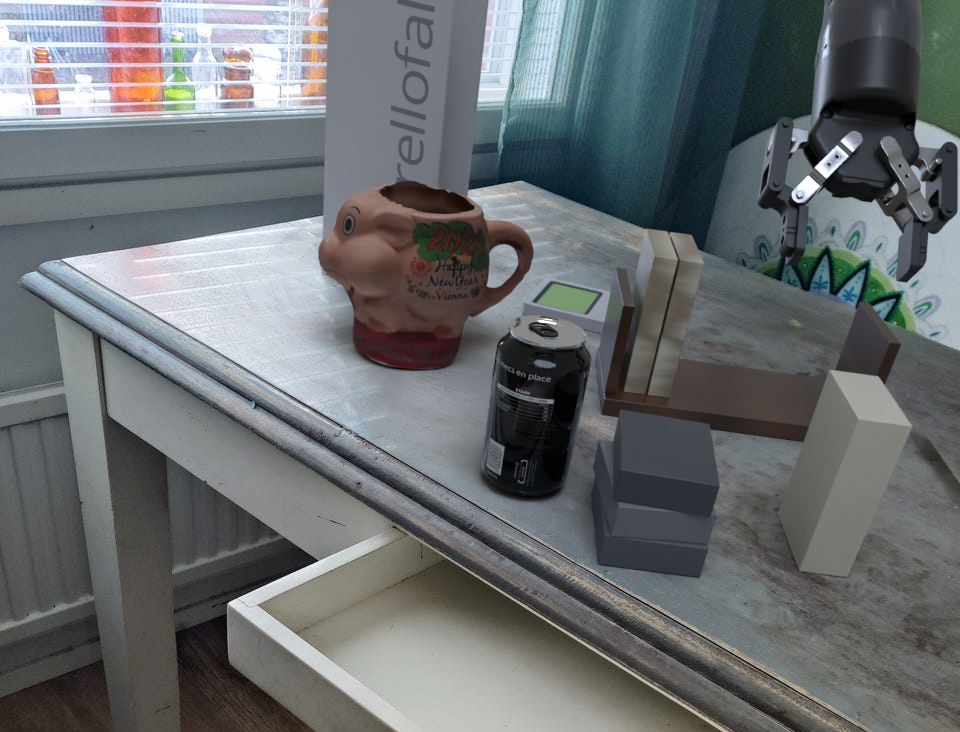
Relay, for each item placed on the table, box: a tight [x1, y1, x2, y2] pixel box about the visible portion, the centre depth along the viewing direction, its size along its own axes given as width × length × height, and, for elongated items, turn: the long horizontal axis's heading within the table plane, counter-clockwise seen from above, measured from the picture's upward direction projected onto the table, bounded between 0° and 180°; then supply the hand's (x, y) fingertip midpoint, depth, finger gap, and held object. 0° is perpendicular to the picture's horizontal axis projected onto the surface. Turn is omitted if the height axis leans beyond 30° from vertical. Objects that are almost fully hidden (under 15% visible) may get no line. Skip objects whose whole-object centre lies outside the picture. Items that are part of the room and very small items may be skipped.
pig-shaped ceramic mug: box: [317, 181, 535, 370], centre depth 90 cm, size 20×12×14 cm, turn 114°
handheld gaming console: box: [521, 277, 611, 335], centre depth 107 cm, size 10×2×15 cm
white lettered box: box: [321, 0, 490, 276], centre depth 97 cm, size 14×6×30 cm, turn 55°
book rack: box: [594, 228, 902, 442], centre depth 89 cm, size 24×12×14 cm, turn 87°
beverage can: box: [480, 315, 592, 497], centre depth 73 cm, size 7×7×12 cm
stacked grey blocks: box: [591, 410, 721, 578], centre depth 70 cm, size 8×10×7 cm
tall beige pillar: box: [777, 369, 913, 578], centre depth 70 cm, size 4×8×12 cm, turn 177°
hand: (851, 269), depth 73 cm, fingers open, 8 cm apart
